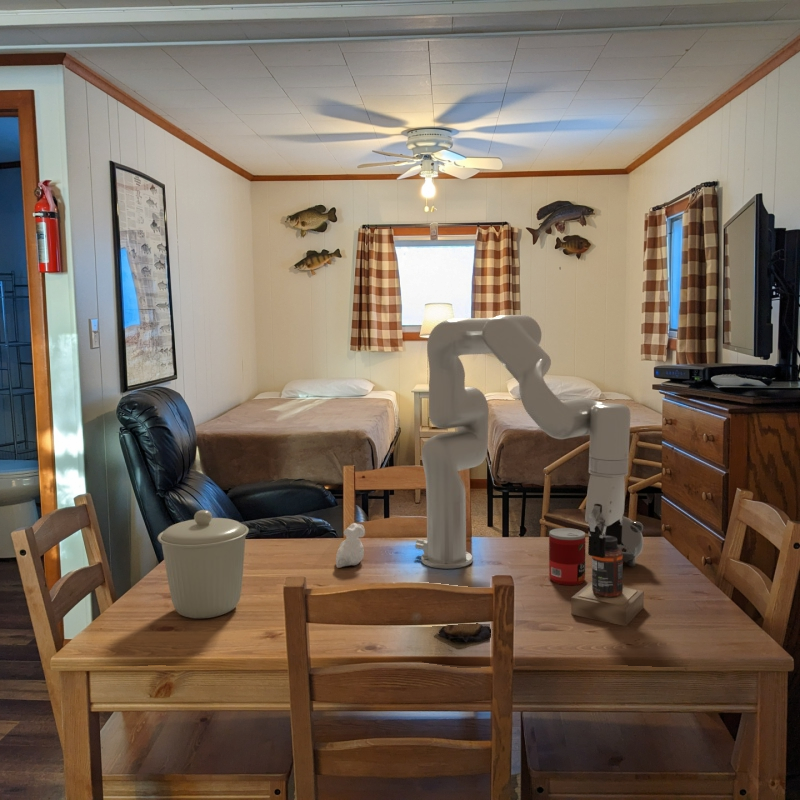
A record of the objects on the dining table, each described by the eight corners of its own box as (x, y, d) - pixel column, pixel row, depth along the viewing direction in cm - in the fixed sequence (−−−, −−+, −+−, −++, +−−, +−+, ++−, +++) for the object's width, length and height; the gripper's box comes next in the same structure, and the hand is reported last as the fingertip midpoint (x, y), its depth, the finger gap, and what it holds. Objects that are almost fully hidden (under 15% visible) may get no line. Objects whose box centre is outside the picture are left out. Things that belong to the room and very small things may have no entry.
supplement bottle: (620, 588, 152) (621, 534, 151) (624, 599, 146) (624, 543, 145) (590, 587, 153) (591, 533, 152) (593, 597, 147) (593, 542, 146)
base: (571, 614, 149) (571, 596, 148) (591, 597, 158) (591, 580, 157) (626, 626, 143) (626, 607, 142) (643, 607, 151) (643, 590, 151)
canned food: (585, 586, 164) (586, 537, 163) (548, 584, 166) (549, 536, 165) (584, 575, 172) (584, 528, 171) (549, 573, 173) (549, 527, 172)
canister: (219, 632, 144) (214, 525, 141) (142, 620, 150) (137, 518, 148) (267, 599, 160) (263, 503, 158) (196, 590, 167) (192, 497, 164)
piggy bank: (607, 575, 171) (608, 526, 170) (584, 555, 186) (584, 510, 185) (654, 572, 172) (655, 524, 171) (627, 553, 187) (628, 508, 186)
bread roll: (459, 654, 133) (459, 634, 133) (430, 638, 140) (429, 619, 140) (502, 638, 140) (502, 619, 139) (472, 623, 146) (472, 605, 146)
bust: (344, 580, 177) (371, 545, 175) (319, 560, 178) (346, 525, 176) (358, 564, 189) (383, 531, 186) (335, 545, 190) (360, 512, 187)
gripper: (605, 456, 156) (602, 535, 159) (573, 471, 142) (570, 557, 144) (640, 460, 152) (637, 542, 154) (612, 476, 138) (608, 565, 140)
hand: (605, 549), depth 149 cm, fingers open, 9 cm apart
